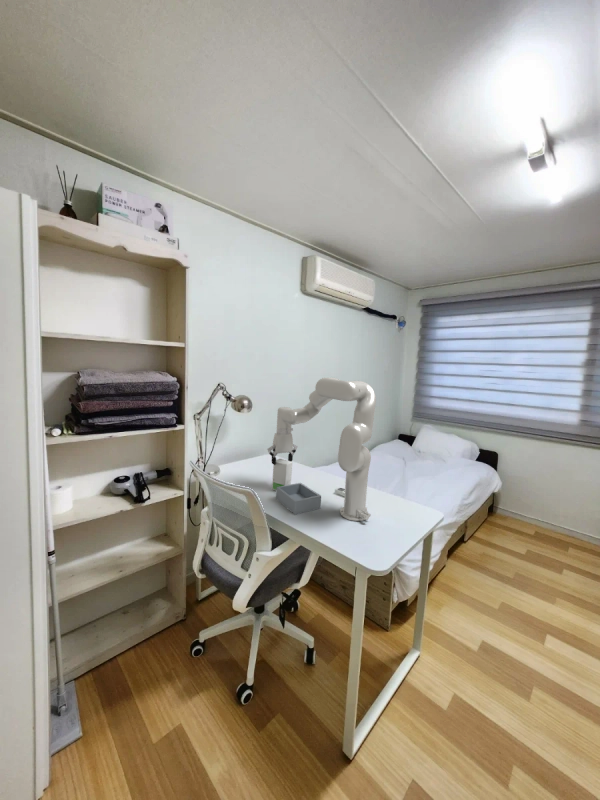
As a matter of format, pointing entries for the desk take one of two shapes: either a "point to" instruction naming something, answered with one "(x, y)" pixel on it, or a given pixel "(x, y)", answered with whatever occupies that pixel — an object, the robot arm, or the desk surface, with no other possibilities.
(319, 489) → the desk surface
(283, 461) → the skincare box
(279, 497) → the tote
